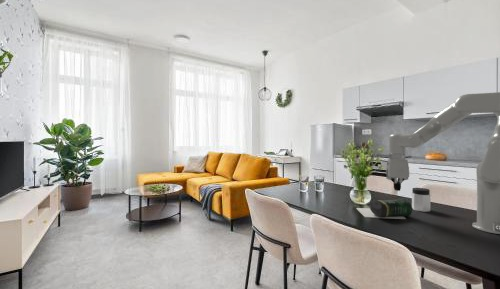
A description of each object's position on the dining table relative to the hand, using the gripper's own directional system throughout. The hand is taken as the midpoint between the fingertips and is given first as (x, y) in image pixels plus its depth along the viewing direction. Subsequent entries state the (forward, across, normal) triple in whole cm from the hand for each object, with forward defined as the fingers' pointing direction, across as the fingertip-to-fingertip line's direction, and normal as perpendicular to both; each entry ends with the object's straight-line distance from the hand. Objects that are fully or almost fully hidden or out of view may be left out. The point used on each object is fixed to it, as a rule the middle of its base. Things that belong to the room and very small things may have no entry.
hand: (397, 190), depth 130 cm
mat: (+13, -9, 0) cm, 16 cm away
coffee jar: (+9, +4, -2) cm, 9 cm away
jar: (+13, +17, +10) cm, 24 cm away
